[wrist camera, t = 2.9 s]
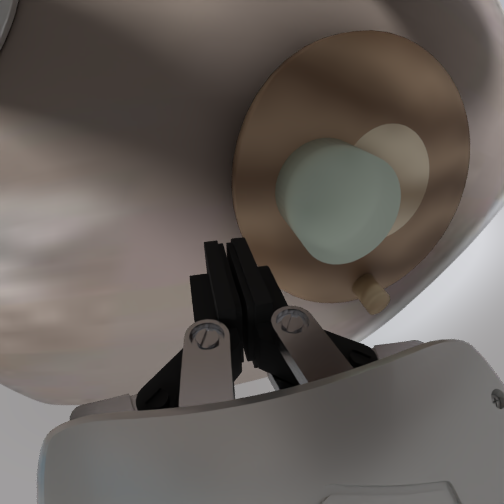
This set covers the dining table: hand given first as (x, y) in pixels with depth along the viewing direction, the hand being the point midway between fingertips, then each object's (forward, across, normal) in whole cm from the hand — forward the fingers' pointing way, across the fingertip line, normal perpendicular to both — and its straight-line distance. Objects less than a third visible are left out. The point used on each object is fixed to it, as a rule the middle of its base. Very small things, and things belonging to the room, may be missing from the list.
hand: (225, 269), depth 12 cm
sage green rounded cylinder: (+7, -8, -1) cm, 10 cm away
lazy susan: (+8, -14, -1) cm, 16 cm away
